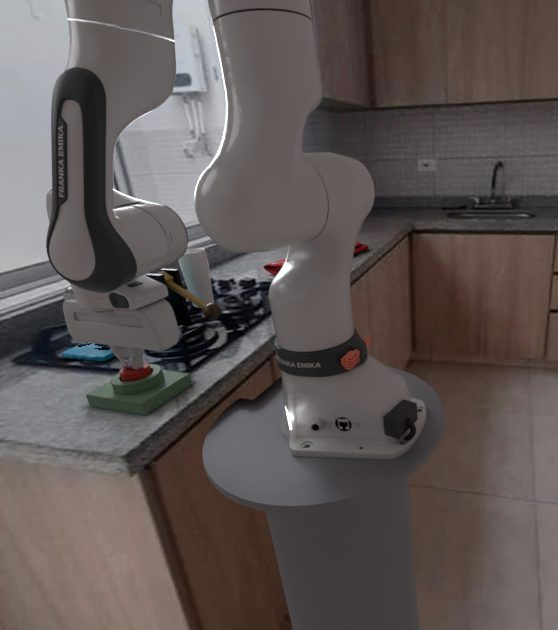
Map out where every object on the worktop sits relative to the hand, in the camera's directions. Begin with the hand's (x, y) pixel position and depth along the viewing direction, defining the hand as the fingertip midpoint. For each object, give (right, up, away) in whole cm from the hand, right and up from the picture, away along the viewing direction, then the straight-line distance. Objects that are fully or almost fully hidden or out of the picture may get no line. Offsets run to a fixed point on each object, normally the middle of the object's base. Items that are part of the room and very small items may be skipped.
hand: (133, 367), depth 74 cm
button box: (0, -5, +2) cm, 5 cm away
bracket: (-7, +4, +27) cm, 28 cm away
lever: (-3, +12, +22) cm, 25 cm away
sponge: (-20, 0, +18) cm, 27 cm away
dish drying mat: (+12, +28, +85) cm, 91 cm away
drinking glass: (-10, +11, +45) cm, 48 cm away
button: (0, -2, +1) cm, 2 cm away
